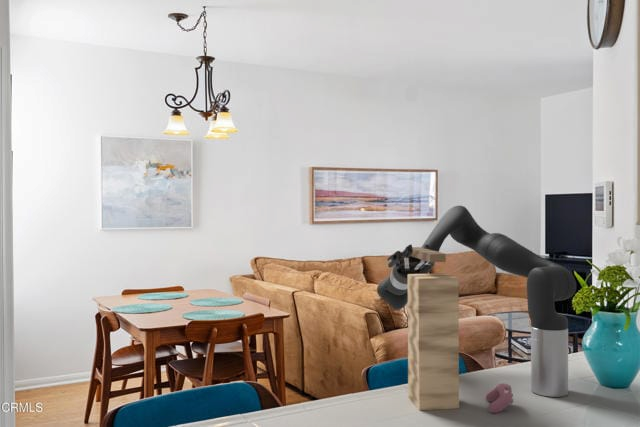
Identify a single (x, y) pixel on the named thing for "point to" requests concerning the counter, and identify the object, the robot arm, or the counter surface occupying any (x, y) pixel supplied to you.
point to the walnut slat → (428, 255)
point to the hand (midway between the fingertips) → (419, 247)
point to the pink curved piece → (499, 397)
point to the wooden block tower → (433, 341)
